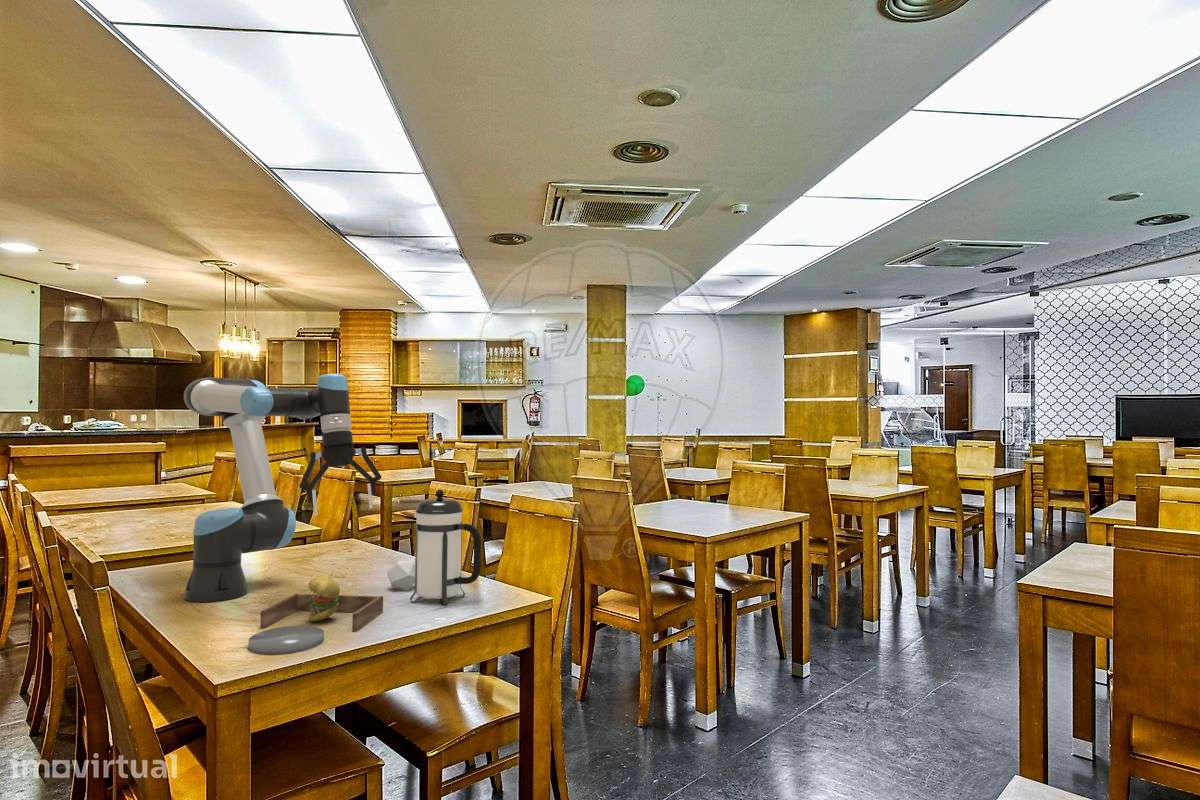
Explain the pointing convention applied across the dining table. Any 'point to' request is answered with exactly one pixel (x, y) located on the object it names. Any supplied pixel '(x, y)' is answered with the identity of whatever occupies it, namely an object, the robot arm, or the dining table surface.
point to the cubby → (360, 605)
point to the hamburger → (323, 597)
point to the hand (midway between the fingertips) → (343, 511)
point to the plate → (286, 639)
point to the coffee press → (441, 549)
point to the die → (402, 575)
